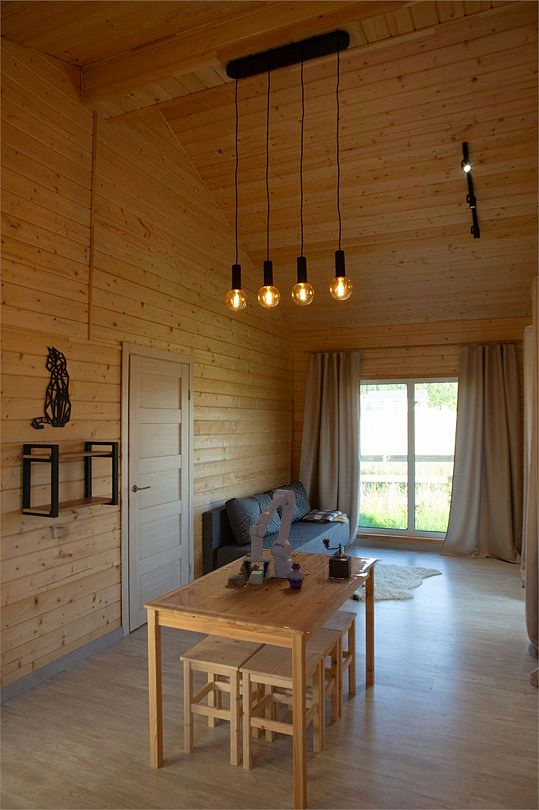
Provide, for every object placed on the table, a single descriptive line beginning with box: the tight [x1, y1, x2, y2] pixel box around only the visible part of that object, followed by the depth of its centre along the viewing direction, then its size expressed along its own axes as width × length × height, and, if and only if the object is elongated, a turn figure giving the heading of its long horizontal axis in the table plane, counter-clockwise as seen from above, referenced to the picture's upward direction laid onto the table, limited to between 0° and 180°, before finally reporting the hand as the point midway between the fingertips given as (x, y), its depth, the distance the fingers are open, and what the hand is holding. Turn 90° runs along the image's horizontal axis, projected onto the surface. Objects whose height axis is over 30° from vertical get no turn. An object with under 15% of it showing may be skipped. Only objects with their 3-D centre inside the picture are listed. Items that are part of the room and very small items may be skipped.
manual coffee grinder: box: [322, 538, 352, 580], centre depth 280 cm, size 16×11×18 cm
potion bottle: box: [287, 561, 306, 590], centre depth 257 cm, size 9×9×12 cm
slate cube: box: [258, 566, 270, 580], centre depth 274 cm, size 5×5×5 cm
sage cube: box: [250, 570, 264, 585], centre depth 266 cm, size 5×5×5 cm
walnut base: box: [227, 574, 247, 588], centre depth 262 cm, size 7×7×4 cm
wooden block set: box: [239, 552, 261, 580], centre depth 281 cm, size 18×9×10 cm, turn 170°
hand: (256, 577), depth 266 cm, fingers open, 7 cm apart
